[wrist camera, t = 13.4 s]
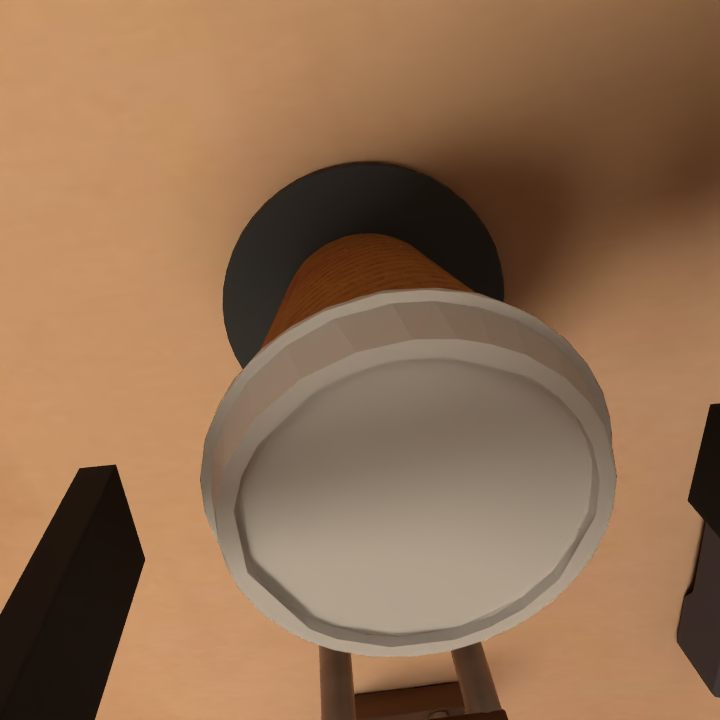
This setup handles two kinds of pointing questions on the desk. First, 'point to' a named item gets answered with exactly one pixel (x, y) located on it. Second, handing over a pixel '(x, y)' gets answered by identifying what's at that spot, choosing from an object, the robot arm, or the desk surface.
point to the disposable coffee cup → (406, 459)
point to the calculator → (704, 615)
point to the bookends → (411, 692)
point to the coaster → (343, 218)
